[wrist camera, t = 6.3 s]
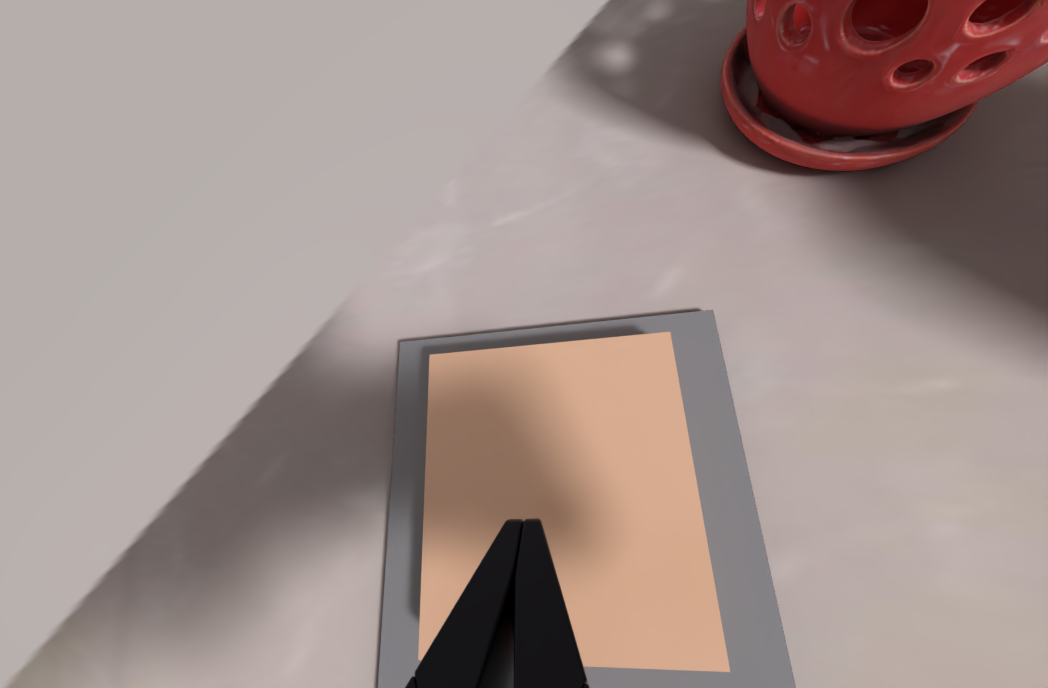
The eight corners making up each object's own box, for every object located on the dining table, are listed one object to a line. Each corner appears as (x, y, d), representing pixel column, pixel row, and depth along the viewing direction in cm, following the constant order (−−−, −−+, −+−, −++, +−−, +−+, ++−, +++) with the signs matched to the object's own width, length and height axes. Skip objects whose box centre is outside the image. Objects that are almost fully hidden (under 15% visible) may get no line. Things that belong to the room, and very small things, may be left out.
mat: (831, 885, 12) (844, 906, 11) (376, 832, 14) (367, 847, 14) (709, 314, 18) (712, 309, 18) (405, 345, 21) (400, 341, 20)
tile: (730, 671, 12) (670, 331, 16) (418, 660, 14) (429, 354, 18) (714, 648, 14) (663, 343, 18) (436, 640, 16) (443, 363, 19)
